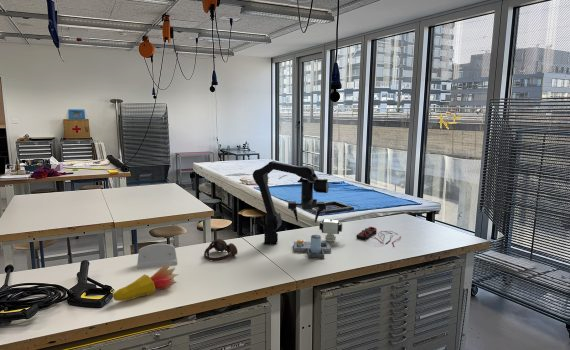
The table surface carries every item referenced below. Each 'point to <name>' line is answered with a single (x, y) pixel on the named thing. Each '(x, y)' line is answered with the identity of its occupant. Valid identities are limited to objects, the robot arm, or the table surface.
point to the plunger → (299, 242)
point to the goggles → (221, 246)
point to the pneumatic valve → (330, 228)
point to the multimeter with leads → (371, 234)
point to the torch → (147, 284)
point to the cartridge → (315, 244)
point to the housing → (307, 245)
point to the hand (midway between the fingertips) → (306, 222)
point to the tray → (315, 255)
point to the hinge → (156, 256)
